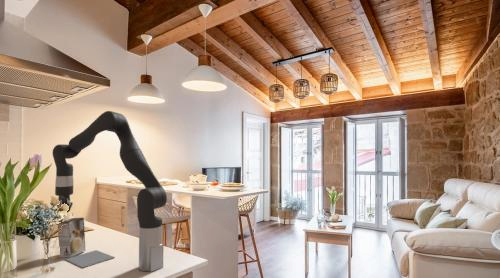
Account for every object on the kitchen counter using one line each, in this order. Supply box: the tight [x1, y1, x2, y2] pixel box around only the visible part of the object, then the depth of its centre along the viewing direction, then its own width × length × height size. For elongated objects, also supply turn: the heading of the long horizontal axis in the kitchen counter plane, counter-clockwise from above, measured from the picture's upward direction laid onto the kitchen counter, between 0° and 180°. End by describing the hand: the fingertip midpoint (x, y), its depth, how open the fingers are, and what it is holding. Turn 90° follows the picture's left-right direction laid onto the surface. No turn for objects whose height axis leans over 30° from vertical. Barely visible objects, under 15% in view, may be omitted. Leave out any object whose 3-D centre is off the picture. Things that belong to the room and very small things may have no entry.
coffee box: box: [57, 217, 87, 259], centre depth 138 cm, size 9×6×16 cm
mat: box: [64, 249, 115, 269], centre depth 133 cm, size 16×14×1 cm
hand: (63, 220), depth 144 cm, fingers closed
